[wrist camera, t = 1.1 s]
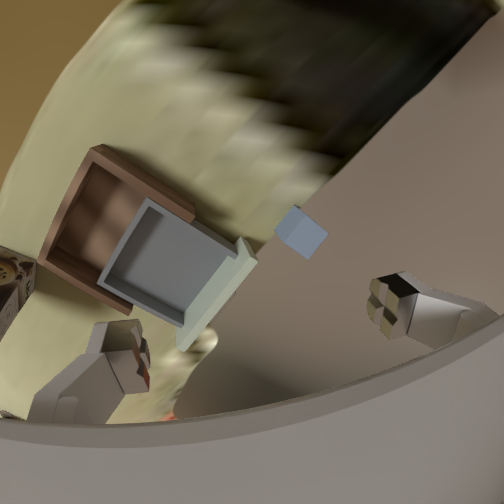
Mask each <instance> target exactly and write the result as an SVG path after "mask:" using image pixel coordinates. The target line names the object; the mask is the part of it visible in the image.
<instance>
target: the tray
mask: <svg viewBox="0 0 504 504" xmlns="http://www.w3.org/2000/svg"><path fill="white" fill-rule="evenodd" d="M257 263H258V260H257V258H256V256H255V254H254V252H253V250H252V248H251V246H250V245H249V243H248V241H247V240H245V239H244V238H242V237H241V236H240V238H239V239H238V240H237V241H236V243H235V244H232V243H231V242H229V241H227V240H226V239H224V238H223V237H221V236H220V235H218V234H217V233H215V232H213V231H212V230H210V229H209V228H207V227H206V226H204V225H203V224H201V223H200V222H198V221H196V220H195V219H193V221H192V222H191V224H190V223H188V222H186V221H185V220H183V219H182V218H180V217H179V216H177V215H175V214H174V213H172V212H171V211H169V210H168V209H166V208H165V207H163V206H161V205H160V204H158V203H157V202H155V201H154V200H152V199H151V198H149V197H147V196H146V198H145V199H144V201H143V202H142V204H141V205H140V207H139V209H138V210H137V212H136V213H135V215H134V217H133V218H132V220H131V222H130V223H129V225H128V226H127V228H126V230H125V231H124V233H123V235H122V237H121V238H120V240H119V242H118V243H117V245H116V247H115V249H114V250H113V252H112V254H111V256H110V257H109V259H108V261H107V263H106V265H105V267H104V268H103V270H102V272H101V275H100V277H99V279H98V281H97V284H98V285H100V286H102V287H103V288H105V289H107V290H109V291H110V292H112V293H114V294H116V295H118V296H119V297H121V298H123V299H125V300H127V301H129V302H130V303H132V304H134V305H136V306H138V307H140V308H142V309H144V310H145V311H147V312H149V313H151V314H153V315H155V316H157V317H159V318H161V319H163V320H165V321H167V322H169V323H171V324H173V325H175V326H176V349H178V350H181V351H183V352H185V351H186V350H187V349H188V347H189V346H190V345H191V344H192V342H193V341H194V340H195V339H196V338H197V336H198V335H199V334H200V333H201V332H202V330H203V329H204V328H205V327H206V325H207V324H208V323H209V322H211V323H212V322H213V321H214V320H215V318H217V316H218V315H219V314H220V313H221V311H222V310H223V309H224V308H225V307H226V305H227V304H228V303H229V302H230V301H231V299H232V298H233V297H234V296H235V294H236V291H235V290H236V289H237V288H238V286H239V285H240V284H241V283H242V281H243V280H244V279H245V278H246V276H247V275H248V274H249V273H250V272H251V270H252V269H253V268H254V267H255V265H256V264H257Z"/></svg>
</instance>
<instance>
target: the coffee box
mask: <svg viewBox="0 0 504 504" xmlns="http://www.w3.org/2000/svg"><path fill="white" fill-rule="evenodd" d="M35 273H36V260H33V259H31V258H28V257H26V256H23V255H21V254H18V253H16V252H14V251H11V250H9V249H6V248H4V247H2V246H0V341H1V340H2V338H3V336H4V335H5V333H6V331H7V330H8V328H9V327H10V325H11V324H12V322H13V320H14V319H15V317H16V316H17V314H18V313H19V311H20V310H21V308H22V307H23V305H24V304H25V303H26V301H27V299H28V298H29V297H30V295H31V294H32V292H33V291H34V284H35Z"/></svg>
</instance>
